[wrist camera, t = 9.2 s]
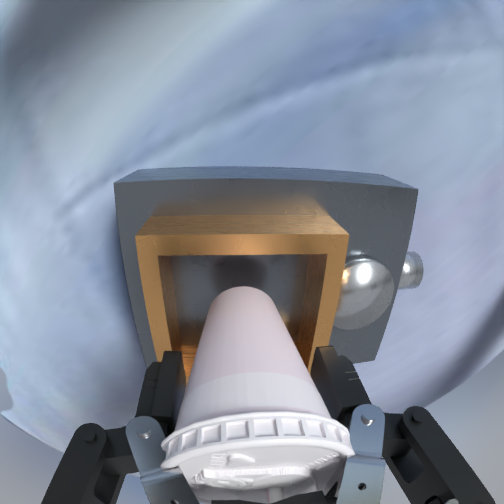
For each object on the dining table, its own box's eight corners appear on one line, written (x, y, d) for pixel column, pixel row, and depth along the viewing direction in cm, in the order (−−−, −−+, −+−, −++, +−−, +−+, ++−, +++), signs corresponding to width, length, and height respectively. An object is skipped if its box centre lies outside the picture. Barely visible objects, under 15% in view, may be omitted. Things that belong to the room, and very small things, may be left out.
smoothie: (263, 369, 18) (297, 588, 5) (167, 334, 16) (128, 586, 3) (322, 292, 16) (439, 550, 3) (215, 241, 14) (202, 615, 1)
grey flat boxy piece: (412, 178, 21) (479, 206, 14) (380, 322, 26) (418, 378, 19) (138, 169, 19) (91, 195, 12) (158, 332, 25) (141, 401, 17)
